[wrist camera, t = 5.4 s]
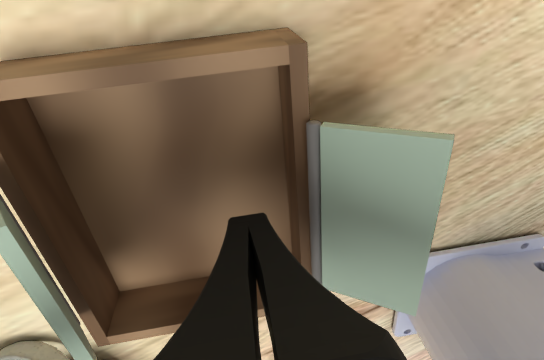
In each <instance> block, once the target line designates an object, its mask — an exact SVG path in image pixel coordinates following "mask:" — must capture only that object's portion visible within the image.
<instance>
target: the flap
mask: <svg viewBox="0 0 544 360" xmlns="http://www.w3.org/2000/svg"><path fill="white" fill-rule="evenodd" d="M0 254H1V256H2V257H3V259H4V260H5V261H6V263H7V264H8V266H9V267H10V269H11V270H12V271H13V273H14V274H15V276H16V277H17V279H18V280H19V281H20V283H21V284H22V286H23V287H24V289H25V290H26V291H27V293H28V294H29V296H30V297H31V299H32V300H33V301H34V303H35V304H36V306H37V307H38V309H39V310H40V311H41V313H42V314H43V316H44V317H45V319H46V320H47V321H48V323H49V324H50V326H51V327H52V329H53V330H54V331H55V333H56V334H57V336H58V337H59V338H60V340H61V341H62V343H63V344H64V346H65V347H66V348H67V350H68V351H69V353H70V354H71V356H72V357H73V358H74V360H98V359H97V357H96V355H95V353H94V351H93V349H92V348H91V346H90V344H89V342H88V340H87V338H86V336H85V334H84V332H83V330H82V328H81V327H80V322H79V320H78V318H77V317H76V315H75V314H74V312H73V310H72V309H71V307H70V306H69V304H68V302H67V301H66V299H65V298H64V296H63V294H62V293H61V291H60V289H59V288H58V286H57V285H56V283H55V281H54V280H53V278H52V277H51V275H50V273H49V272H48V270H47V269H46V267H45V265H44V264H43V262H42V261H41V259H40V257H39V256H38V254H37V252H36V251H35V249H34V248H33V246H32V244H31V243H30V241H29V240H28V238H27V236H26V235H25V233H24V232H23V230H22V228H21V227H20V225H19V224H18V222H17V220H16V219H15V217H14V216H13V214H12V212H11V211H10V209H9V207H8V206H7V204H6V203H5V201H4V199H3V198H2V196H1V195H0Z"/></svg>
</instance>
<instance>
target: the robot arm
mask: <svg viewBox="0 0 544 360" xmlns="http://www.w3.org/2000/svg"><path fill="white" fill-rule="evenodd" d="M543 247H544V236H543V235H541V234H534V235H528V236H523V237H517V238H511V239H505V240H500V241H494V242H488V243H482V244H477V245H471V246H465V247H459V248H454V249H448V250H442V251H436V252H431V253H429V258H428V262H427V267H426V272H425V276H424V281H423V286H422V290H421V295H420V299H419V304H418V309H417V313H416V317H415V316H412V315H409V314H405V313H402V312H399V311H396V310H395V317H394V323H393V329H392V331H393V333H394V335H395V336H397V337H401V336H406V335H411V334H418V335H419V337H420V339H421V341H422V343H423V344H424V346H425V348H426V350H427V351H428V353H429V355H430V357H431V359H432V360H544V249H543ZM256 280H257V282H256ZM257 284H258V288H259V292H260V296H261V300H262V304H263V308H264V312H265V316H266V320H267V324H268V328H269V332H270V337H271V341H272V347H273V353H274V360H407V359H406V357H405V356H404V354H403V352H402V351H401V349H400V348H399V346H398V345H397V343H396V342H395V340H394V339H393V338H392V336H391V335H390V334H389V332H388V331H387V330H385V329H384V328H382V327H380V326H378V325H377V324H375V323H373V322H372V321H370V320H368V319H367V318H365V317H364V316H362V315H361V314H359V313H358V312H356V311H355V310H353V309H352V308H351V307H349V306H348V305H346V304H345V303H344V302H342V301H341V300H340V299H339V298H337V297H336V296H335V295H334V294H332V293H331V292H330V291H328V290H327V289H326V288H325V287H324V286H323V285H322V284H320V283H319V282H318V281H317V280H316V279H315V278H314V277H313V276H312V275H311V274H310V273H309V272H308V271H307V270H306V269H305V268H304V267H303V266H302V265H301V264H300V263H299V262H298V260H297V259H296V258H295V257H294V256H293V255H292V253H291V252H290V251H289V250H288V248H287V247H286V246H285V245H284V243H283V242H282V241H281V239H280V238H279V236H278V235H277V233H276V232H275V230H274V229H273V227H272V225H271V224H270V222H269V220H268V218H267V215H266V214H265V213H257V214H250V215H244V216H237V217H231V218H230V219H229V220H228V225H227V230H226V234H225V238H224V241H223V244H222V247H221V250H220V253H219V255H218V258H217V261H216V263H215V265H214V267H213V270H212V272H211V274H210V276H209V279H208V281H207V283H206V285H205V286H204V288H203V290H202V292H201V294H200V296H199V297H198V299H197V301H196V302H195V304H194V306H193V307H192V309H191V310H190V312H189V314H188V315H187V317H186V318H185V320H184V321H183V323H182V324H181V325H180V327H179V328H178V329H177V331H176V332H175V333H174V335H173V336H172V337H171V339H170V340H169V341H168V343H167V344H166V345H165V347H164V348H163V349H162V350H161V352H160V353H159V354H158V355H157V356H156V357H155V358H154V360H261V353H260V345H259V331H258V306H257Z"/></svg>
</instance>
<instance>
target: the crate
mask: <svg viewBox="0 0 544 360" xmlns="http://www.w3.org/2000/svg"><path fill="white" fill-rule="evenodd" d="M308 121H310V120H309V87H308V55H307V42H306V41H304V40H303V39H302V38H300V37H299V36H298V35H297V34H295V33H294V32H293V31H291V30H290V29H289V28H280V29H271V30H263V31H254V32H246V33H238V34H229V35H221V36H212V37H204V38H195V39H187V40H178V41H170V42H161V43H153V44H144V45H136V46H127V47H119V48H110V49H102V50H94V51H85V52H77V53H68V54H60V55H51V56H43V57H34V58H26V59H17V60H9V61H1V62H0V187H1V189H2V190H3V192H4V194H5V195H6V197H7V198H8V200H9V202H10V203H11V205H12V207H13V208H14V210H15V211H16V213H17V215H18V216H19V218H20V220H21V221H22V223H23V225H24V226H25V228H26V229H27V231H28V233H29V234H30V236H31V238H32V239H33V241H34V242H35V244H36V246H37V247H38V249H39V251H40V252H41V254H42V256H43V257H44V259H45V260H46V262H47V264H48V265H49V267H50V269H51V270H52V272H53V273H54V275H55V277H56V278H57V280H58V282H59V283H60V285H61V287H62V288H63V290H64V291H65V293H66V295H67V296H68V298H69V300H70V301H71V303H72V304H73V306H74V308H75V309H76V311H77V313H78V314H79V316H80V318H81V319H82V321H83V322H84V324H85V326H86V327H87V329H88V331H89V332H90V334H91V335H92V337H93V339H94V340H95V342H96V344H97V345H98V347H99V346H104V345H110V344H115V343H121V342H126V341H132V340H137V339H143V338H148V337H154V336H159V335H165V334H170V333H175V332H176V331H177V329H178V328H179V327H180V325H181V324H182V323H183V321H184V320H185V318H186V317H187V315H188V314H189V312H190V310H191V309H192V307H193V306H194V304H195V302H196V301H197V299H198V297H199V296H200V294H201V292H202V290H203V288H204V286H205V285H206V283H207V281H208V279H209V276H210V274H211V272H212V270H213V267H214V265H215V263H216V261H217V258H218V255H219V253H220V250H221V247H222V244H223V241H224V238H225V234H226V230H227V225H228V220H229V219H230V218H231V217H237V216H244V215H250V214H257V213H265V214H266V215H267V218H268V220H269V222H270V224H271V225H272V227H273V229H274V230H275V232H276V233H277V235H278V236H279V238H280V239H281V241H282V242H283V243H284V245H285V246H286V247H287V248H288V250H289V251H290V252H291V253H292V255H293V256H294V257H295V258H296V259H297V260H298V262H299V263H300V264H301V265H302V266H303V267H304V268H305V269H306V270H307V271H308V272H309V273H310V274H311V275H312V269H311V242H310V214H309V187H308V159H307V132H306V123H307V122H308ZM256 282H257V280H256ZM257 306H258V317H264V316H265V312H264V308H263V304H262V300H261V296H260V292H259V288H258V284H257Z"/></svg>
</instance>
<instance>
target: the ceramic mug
mask: <svg viewBox="0 0 544 360" xmlns="http://www.w3.org/2000/svg"><path fill="white" fill-rule="evenodd" d="M0 360H70V359H69V358H68V357H67V356H65V355H64V354H63V353H62V352H61V351H59V350H57V348H55V347H53V346H51V345H49V344H46V343H43V342H39V341H21V342H16V343H14V344H11V345H9V346H6V347H5V348H3V349H1V350H0Z"/></svg>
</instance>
